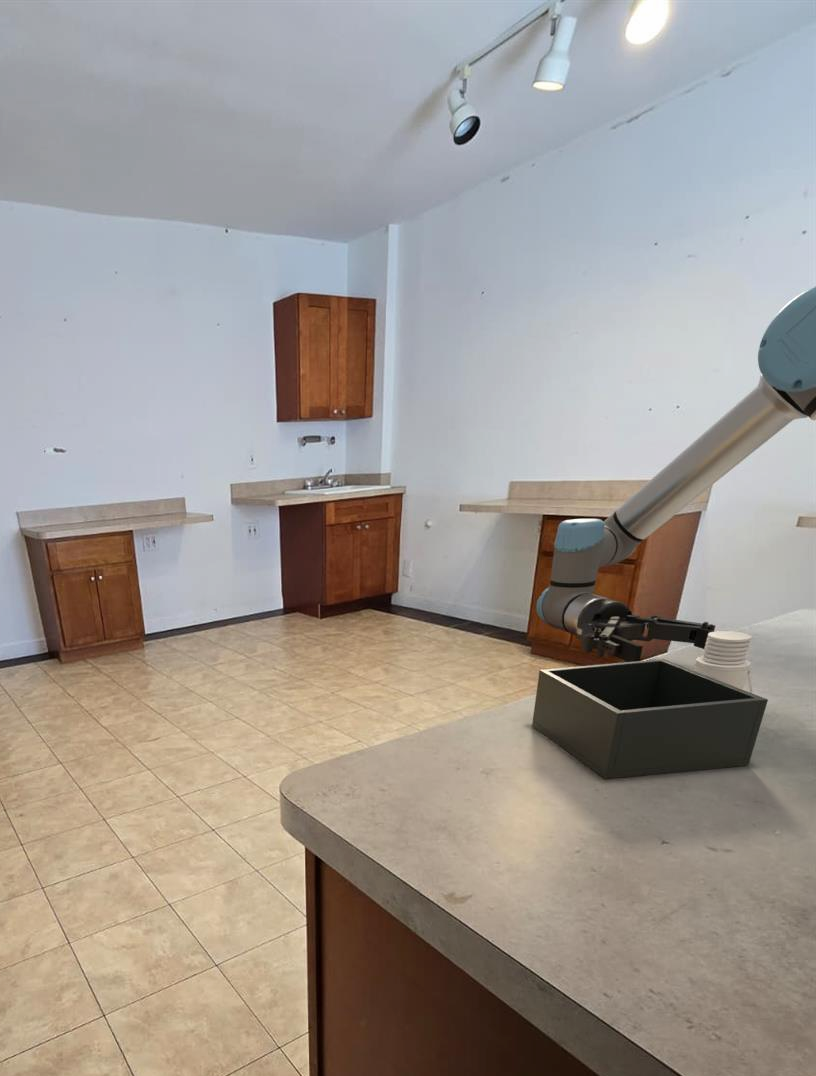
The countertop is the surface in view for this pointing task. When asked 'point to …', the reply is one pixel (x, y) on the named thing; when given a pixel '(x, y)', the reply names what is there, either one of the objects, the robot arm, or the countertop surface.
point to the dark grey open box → (647, 718)
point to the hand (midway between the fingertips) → (684, 651)
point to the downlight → (726, 658)
